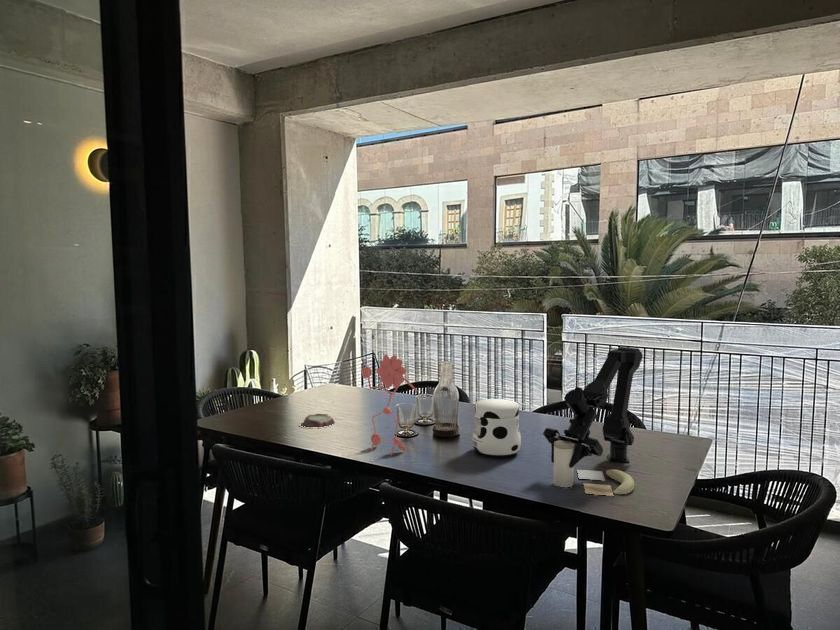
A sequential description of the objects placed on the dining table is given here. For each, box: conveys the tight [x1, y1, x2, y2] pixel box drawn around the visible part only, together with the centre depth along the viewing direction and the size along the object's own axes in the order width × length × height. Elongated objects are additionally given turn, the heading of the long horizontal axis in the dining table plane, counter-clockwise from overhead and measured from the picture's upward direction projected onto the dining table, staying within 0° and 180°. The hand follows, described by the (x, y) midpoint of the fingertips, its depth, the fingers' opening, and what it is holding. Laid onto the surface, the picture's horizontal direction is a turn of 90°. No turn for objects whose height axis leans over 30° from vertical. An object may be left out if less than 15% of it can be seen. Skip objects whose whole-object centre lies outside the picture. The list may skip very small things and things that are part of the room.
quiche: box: [300, 413, 336, 428], centre depth 251 cm, size 21×20×4 cm
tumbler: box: [552, 440, 575, 488], centre depth 181 cm, size 6×6×13 cm
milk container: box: [472, 398, 522, 458], centre depth 211 cm, size 17×17×18 cm
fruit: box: [605, 468, 635, 495], centre depth 181 cm, size 7×15×3 cm, turn 171°
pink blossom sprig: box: [361, 354, 419, 459], centre depth 216 cm, size 15×26×35 cm, turn 56°
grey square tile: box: [576, 469, 606, 482], centre depth 189 cm, size 8×8×1 cm
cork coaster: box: [582, 482, 615, 497], centre depth 177 cm, size 8×8×1 cm
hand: (561, 464), depth 180 cm, fingers closed on tumbler, 6 cm apart
